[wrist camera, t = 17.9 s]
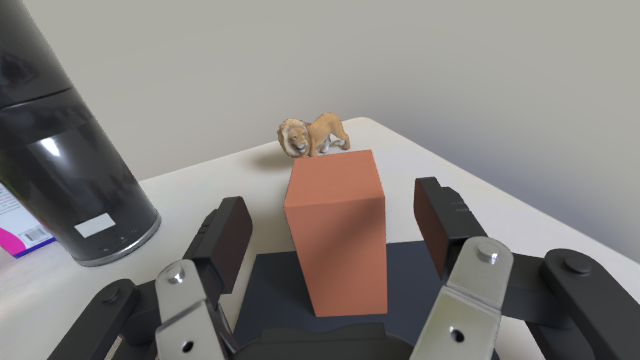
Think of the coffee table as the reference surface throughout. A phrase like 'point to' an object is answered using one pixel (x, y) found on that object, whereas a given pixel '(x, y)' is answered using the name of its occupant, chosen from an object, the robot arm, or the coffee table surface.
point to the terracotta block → (339, 232)
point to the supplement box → (19, 227)
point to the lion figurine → (310, 135)
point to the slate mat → (297, 311)
